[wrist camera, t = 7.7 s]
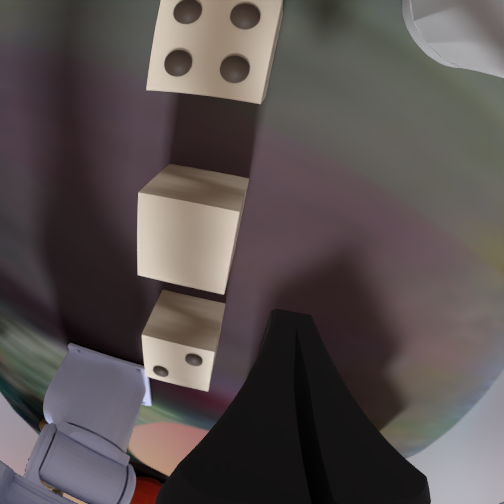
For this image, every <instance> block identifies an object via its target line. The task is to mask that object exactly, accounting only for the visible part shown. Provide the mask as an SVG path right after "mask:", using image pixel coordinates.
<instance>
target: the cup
mask: <svg viewBox="0 0 504 504" xmlns="http://www.w3.org/2000/svg"><path fill="white" fill-rule="evenodd" d="M402 13H403V18H404V21H405V24H406V27H407V29H408V31H409V33H410V35H411V36H412V38H413V40H414V41H415V42H416V44H417V45H418V46H419V47H420V48H421V49H422V50H423V51H424V52H425V53H426V54H427V55H428V56H429V57H431V58H432V59H434V60H435V61H437V62H439V63H441V64H443V65H446V66H449V67H454V68H466V69H470V70H475V71H479V72H483V73H487V74H491V75H495V76H498V77H502V78H504V0H402Z"/></svg>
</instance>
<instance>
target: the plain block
mask: <svg viewBox="0 0 504 504" xmlns="http://www.w3.org/2000/svg"><path fill="white" fill-rule="evenodd" d="M248 182H249V178H244V177H240V176H234V175H229V174H224V173H219V172H214V171H208V170H203V169H197V168H192V167H186V166H180V165H174V164H169V165H168V166H167V167H165V168H164V169H163V170H162V171H161V172H160V173H159V174H158V175H157V176H155V177H154V178H153V179H152V180H151V181H150V182H149V183H148V184H147V185H146V186H145V187H144V188H142V189H141V190H140V191H139V192H138V220H137V267H138V275H140V276H144V277H148V278H152V279H156V280H161V281H165V282H169V283H174V284H178V285H182V286H187V287H191V288H196V289H200V290H205V291H209V292H214V293H219V294H223V295H224V293H225V289H226V285H227V281H228V276H229V272H230V268H231V264H232V260H233V256H234V252H235V248H236V243H237V238H238V232H239V227H240V222H241V217H242V212H243V207H244V202H245V197H246V192H247V187H248Z"/></svg>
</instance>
